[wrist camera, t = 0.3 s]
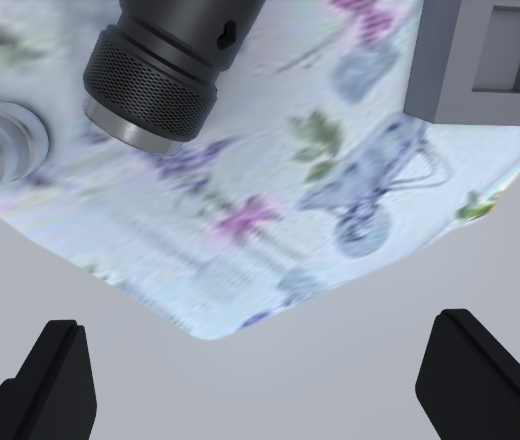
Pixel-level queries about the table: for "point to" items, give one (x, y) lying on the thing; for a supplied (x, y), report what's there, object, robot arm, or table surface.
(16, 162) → the plastic bottle
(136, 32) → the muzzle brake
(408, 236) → the table surface
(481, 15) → the socket block
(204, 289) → the table surface
